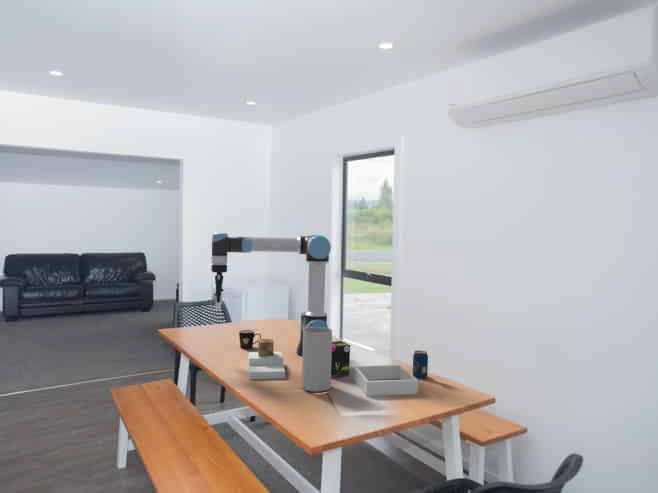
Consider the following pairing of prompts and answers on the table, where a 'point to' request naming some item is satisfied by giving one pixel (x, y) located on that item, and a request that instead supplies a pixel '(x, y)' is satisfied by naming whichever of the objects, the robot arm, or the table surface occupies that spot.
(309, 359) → the cylinder vase
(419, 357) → the soda can
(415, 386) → the tray
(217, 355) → the table surface
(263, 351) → the cube
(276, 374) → the steps
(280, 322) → the table surface
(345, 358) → the tampon box
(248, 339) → the coffee mug
